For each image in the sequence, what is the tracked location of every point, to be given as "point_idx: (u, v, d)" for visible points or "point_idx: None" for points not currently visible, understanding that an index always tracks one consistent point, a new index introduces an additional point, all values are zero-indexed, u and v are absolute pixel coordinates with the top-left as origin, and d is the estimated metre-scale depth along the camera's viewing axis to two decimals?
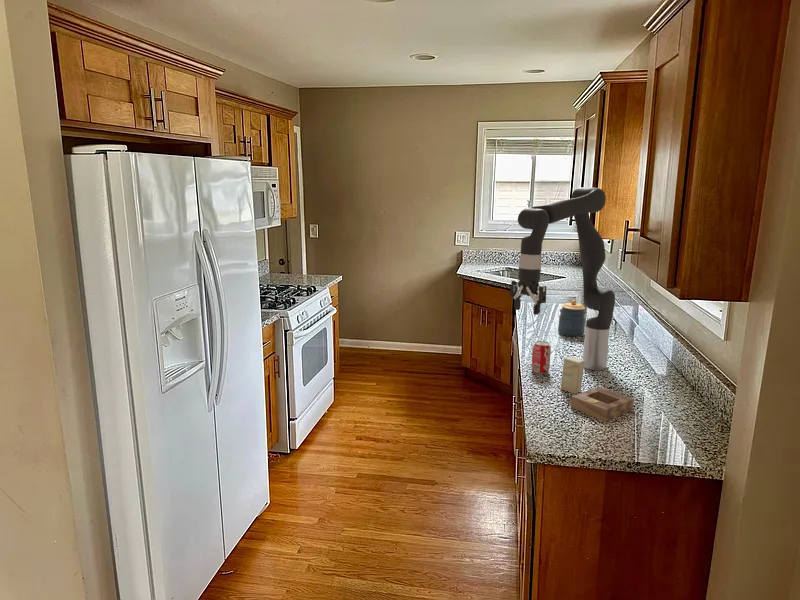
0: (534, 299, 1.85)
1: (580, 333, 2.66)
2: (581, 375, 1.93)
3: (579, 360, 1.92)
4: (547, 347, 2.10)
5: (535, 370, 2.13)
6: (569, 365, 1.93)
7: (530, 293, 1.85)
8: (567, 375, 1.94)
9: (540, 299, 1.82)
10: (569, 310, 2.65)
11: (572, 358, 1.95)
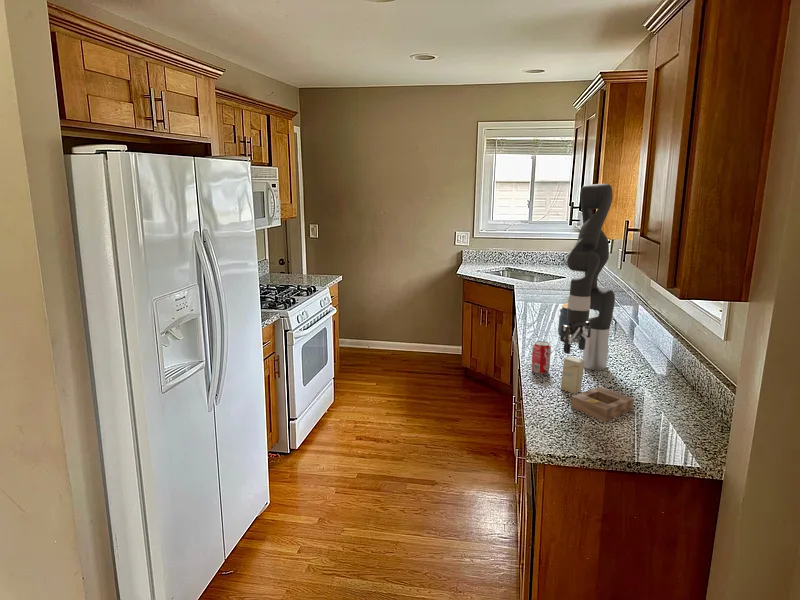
0: (585, 336, 1.93)
1: None
2: (581, 375, 1.93)
3: (579, 360, 1.92)
4: (547, 347, 2.10)
5: (535, 370, 2.13)
6: (569, 365, 1.93)
7: (584, 331, 1.91)
8: (567, 375, 1.94)
9: (589, 333, 1.95)
10: None
11: (572, 358, 1.95)
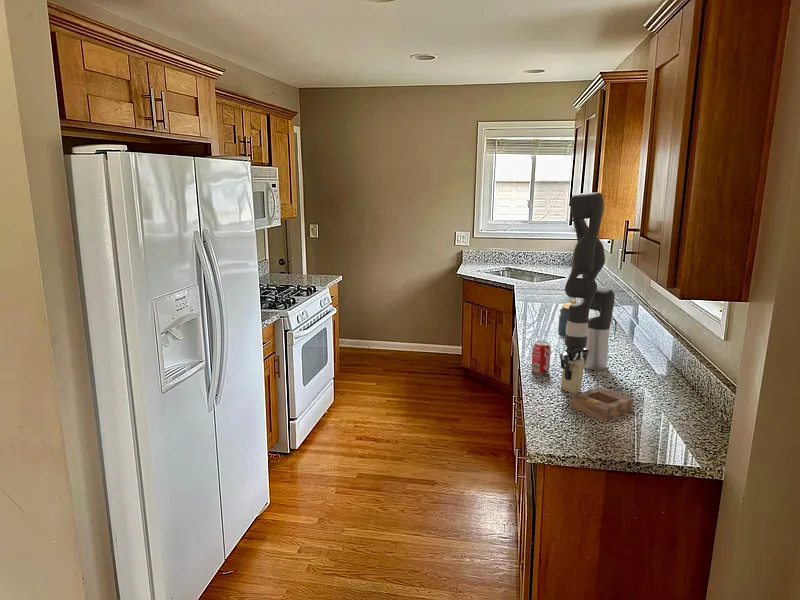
0: None
1: None
2: (581, 375, 1.93)
3: (579, 360, 1.92)
4: (547, 347, 2.10)
5: (535, 370, 2.13)
6: (569, 365, 1.93)
7: (581, 358, 1.93)
8: None
9: (585, 361, 1.96)
10: None
11: None
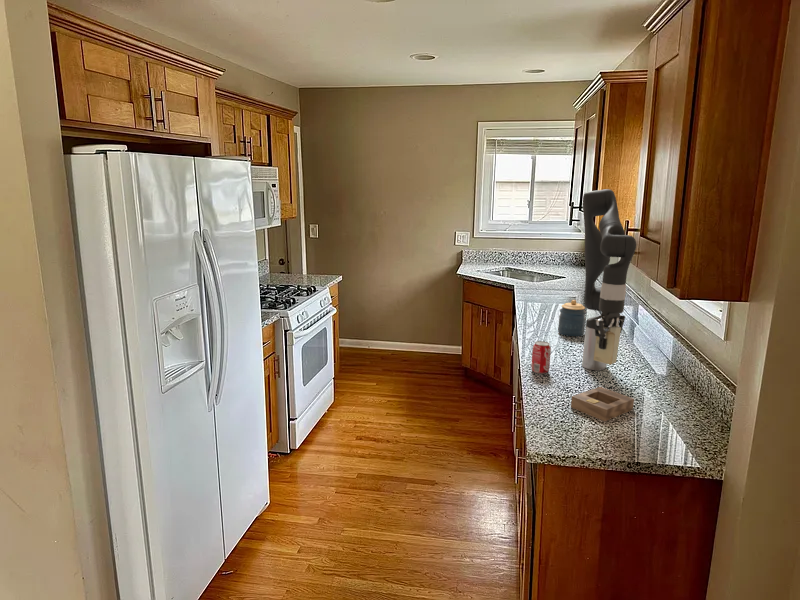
0: None
1: (580, 333, 2.66)
2: (617, 344, 1.74)
3: (615, 327, 1.74)
4: (547, 347, 2.10)
5: (535, 370, 2.13)
6: (604, 332, 1.74)
7: (617, 324, 1.74)
8: None
9: (621, 329, 1.77)
10: (569, 310, 2.65)
11: None
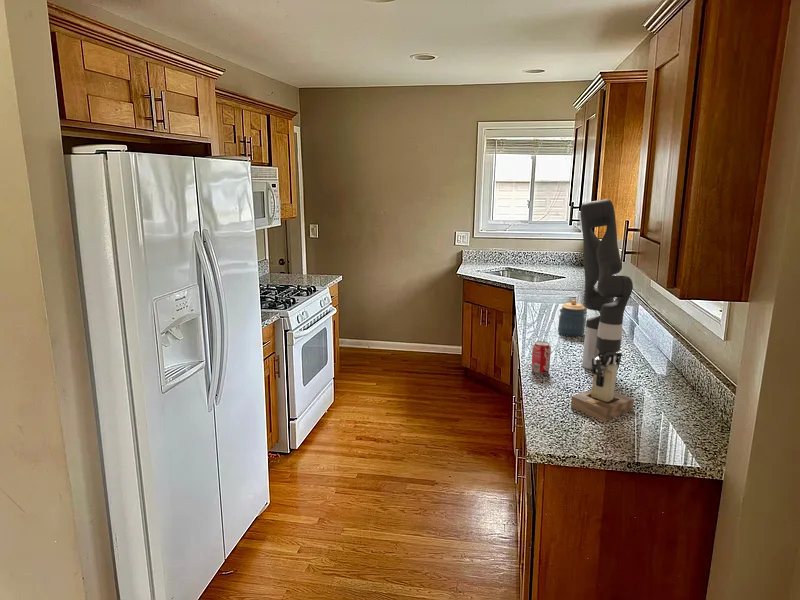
0: None
1: (580, 333, 2.66)
2: (614, 381, 1.77)
3: (612, 365, 1.76)
4: (547, 347, 2.10)
5: (535, 370, 2.13)
6: (601, 370, 1.77)
7: (614, 362, 1.77)
8: None
9: (618, 366, 1.80)
10: (569, 310, 2.65)
11: None
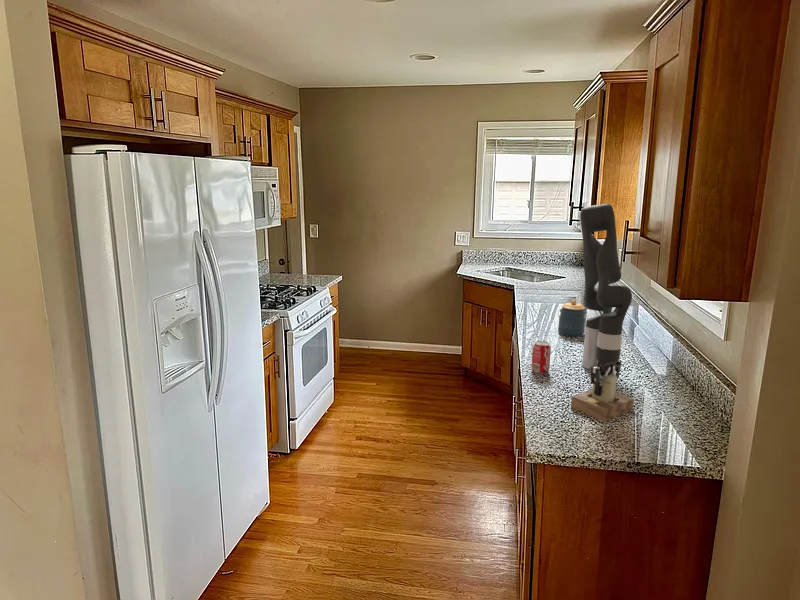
0: None
1: (580, 333, 2.66)
2: (613, 392, 1.78)
3: (611, 376, 1.77)
4: (547, 347, 2.10)
5: (535, 370, 2.13)
6: None
7: (614, 371, 1.78)
8: None
9: (618, 374, 1.81)
10: (569, 310, 2.65)
11: None
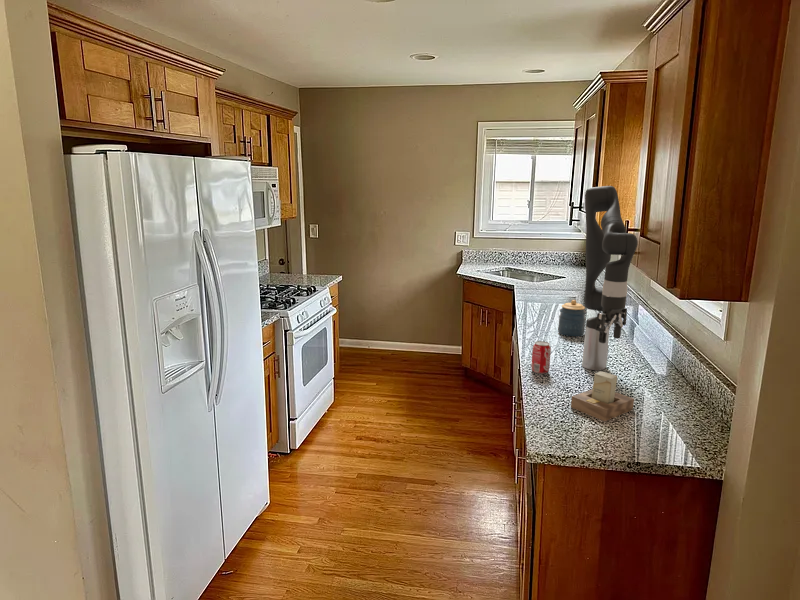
0: (621, 323, 1.80)
1: (580, 333, 2.66)
2: (613, 392, 1.78)
3: (611, 376, 1.77)
4: (547, 347, 2.10)
5: (535, 370, 2.13)
6: (600, 381, 1.78)
7: (620, 319, 1.79)
8: (598, 392, 1.79)
9: (625, 321, 1.82)
10: (569, 310, 2.65)
11: (603, 373, 1.79)
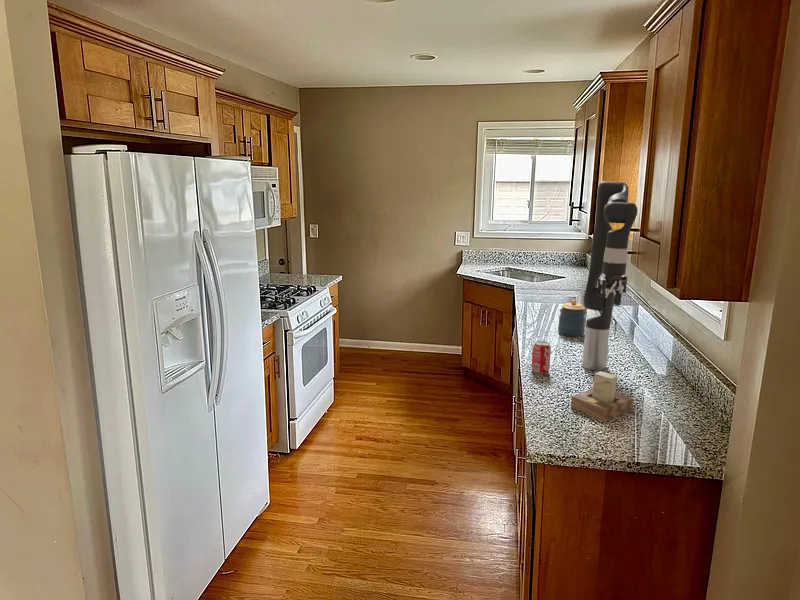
0: (621, 290, 1.89)
1: (580, 333, 2.66)
2: (613, 392, 1.78)
3: (611, 376, 1.77)
4: (547, 347, 2.10)
5: (535, 370, 2.13)
6: (600, 381, 1.78)
7: (620, 286, 1.87)
8: (598, 392, 1.79)
9: (625, 288, 1.90)
10: (569, 310, 2.65)
11: (603, 373, 1.79)
